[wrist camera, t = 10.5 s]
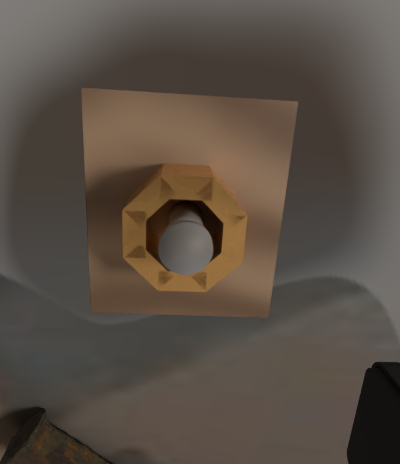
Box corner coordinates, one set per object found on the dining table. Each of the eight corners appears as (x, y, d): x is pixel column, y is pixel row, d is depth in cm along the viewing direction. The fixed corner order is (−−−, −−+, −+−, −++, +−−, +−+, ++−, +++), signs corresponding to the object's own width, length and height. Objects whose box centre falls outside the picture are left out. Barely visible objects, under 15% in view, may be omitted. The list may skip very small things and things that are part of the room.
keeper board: (265, 309, 26) (289, 373, 20) (94, 304, 26) (65, 368, 19) (293, 101, 22) (336, 101, 16) (85, 88, 21) (44, 82, 15)
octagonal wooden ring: (231, 265, 24) (239, 293, 20) (132, 262, 24) (123, 289, 20) (240, 167, 22) (251, 179, 18) (131, 161, 21) (121, 172, 18)
